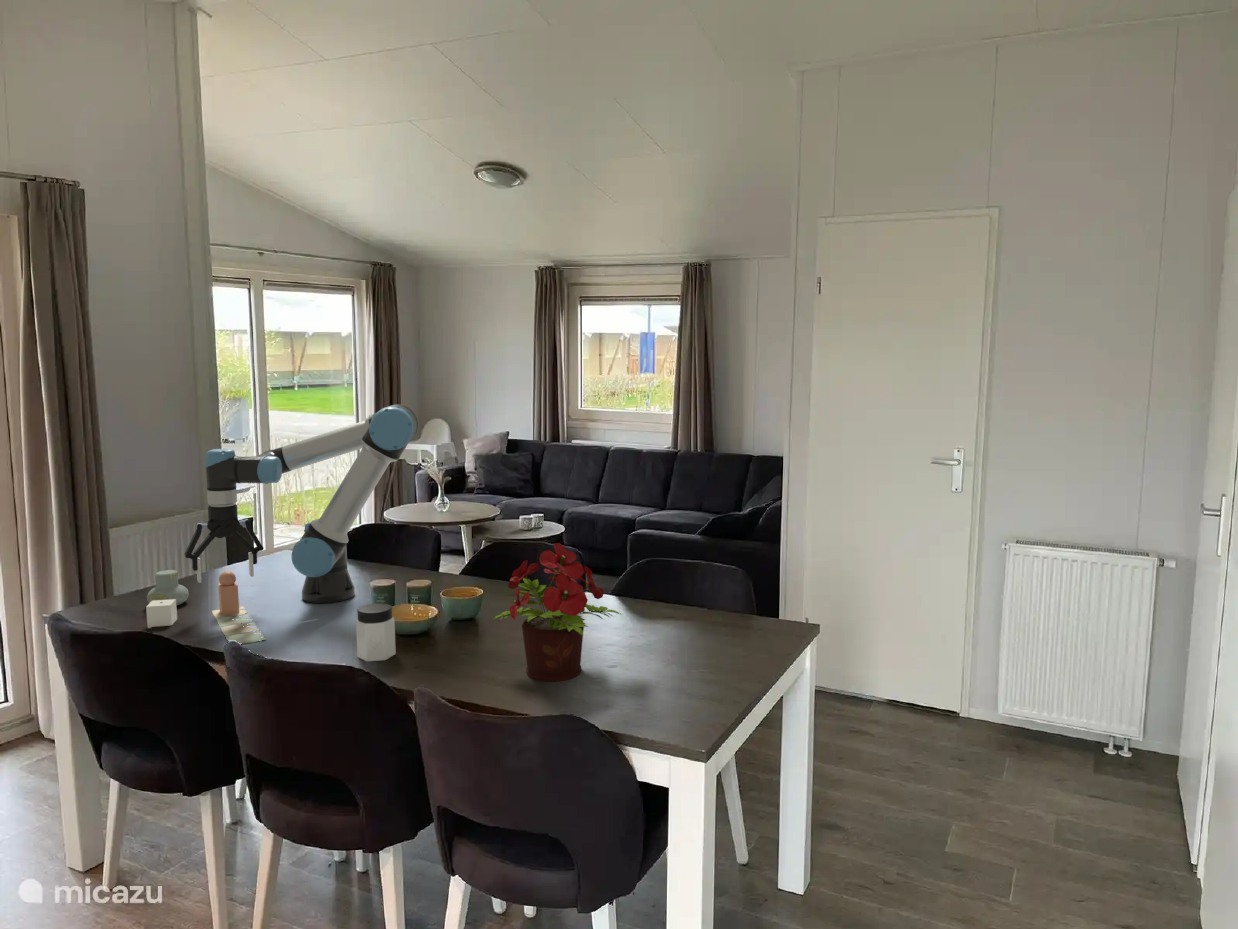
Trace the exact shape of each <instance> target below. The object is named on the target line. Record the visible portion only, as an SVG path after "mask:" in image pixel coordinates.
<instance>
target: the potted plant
mask: <svg viewBox="0 0 1238 929" xmlns="http://www.w3.org/2000/svg"><path fill="white" fill-rule="evenodd" d="M553 548H554V551H555V553H554V552H553V551H551V550H544V551H542V552H541V553H540V556H539V563H540V564H541V565H542V566H544V567H545V568H544V569H543V572H544V573H546V574H552V575H553V576H552V575H549V576H548V580H550V584H549V585H548V587H546V586H547V584H540V583H539V579H534V580H532V581H531V580H530V578H528V575H532V574H534V573H535V572H537V571H539V570H540V565H539V563H537V562H533V563H530V564H529V565H528V559H525V560H524V561H522V563H521V564H520V565H519V566H518V568H516V569H514V570H513V572H512V574H511V576H512V577H510V579H509V581H508V584H507V585H508V586H507V587H508V588H509V589H512V590H515V593H514V594H515V595H514V597H516V599H514V600H513V604H512V605H510V606H509V610H506V611H503V612H501V613H500V614H498V615H495V616H494V617H492V618H491V620H495V619H497V618H499V617H501V618H500V620H502V619H503V618H504V619H506V618H509V616H510V617H511V618H512V619H513V620H516V618H517V617H518V616H521V617H523V616H524V617H525V616H528V617H527V618H526V619H525V620H524V621H523V623H522V625H521V630H522V637H523V645H524V652H525V662H526V668H525V670H526V671H525V673H526V675H527V677H530V679H534V680H536V681H542V682H561V681H562V682H563V681H567V680H571V679H573V678H576V677H578V676H579V675H580V674H581V672H582V665H581V662H582V661H581V660H582V651H583V650H582V649H583V638H584V628H585V627H587V628H588V627H589V625H587V624H586V623H585V622H584V621H586V619H585V618H583V617H582V616H580V614H584V615H585V614H588V615H593V616H596V617H598V618H599V619H602V620H605V619H604V618H603V617H602V616H600V615H599V614H601V615H604V616H606V617H607V618H610V616H612V617H613V618H614V617H615V616H613V614H611V613H615V614H617V615H621V616H622V613H620V612H619V611H617V610H614V609H609V608H608V607H607V606H603V605H601V606H599V607H597V606H595V605H591V604H587V603H588V600H589V599H588V598H587V595H586V593H585V590H587V588H588V590H589V592H590V593H591V594H592V596H593V598H594V599H597V600H599V599H602V598H603V597H604V593H605V592H604V589H603V588H601V587H597V586H596V584H595V583H596V581H595V580H594V579H593V571H592V570H591V569H590V567H588V566H586V565H584V567H583V565H582V564H581V562H580V561H576V560H577V554H576V553H575V552H574V551H571V550H567V549H566V547H564V545H563V544H562V543H560V542H554V544H553ZM556 568H557V569H556ZM584 573H585V574H586V578H587V580H588V581H586V580H585V579H584V577H582V576H583V575H584ZM576 580H578V581H583V582H585V584H586V586H585V588H584V587H583V585H581V584H579V583H578V581H576ZM522 581H523V582H524V583H523V582H522ZM521 582H522V583H521ZM553 582H555V584H554V585H553V586H552V584H553ZM539 584H540V585H539ZM518 587H520V588H518ZM535 594H536V595H535ZM520 597H522V598H521V601H520ZM530 598H533V599H537V600H538V602H537V601H535V600H532V599H530ZM538 603H539V604H538ZM526 605H534V606H540V608H541V610H540V609H536V608H535V609H533V608H531V607H530V606H526ZM541 605H542V606H541ZM542 607H543V608H542ZM523 608H525V609H523ZM545 608H546V611H545ZM585 609H587V611H586V610H585ZM595 613H598V614H595Z"/></svg>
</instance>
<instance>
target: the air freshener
mask: <svg viewBox="0 0 1238 929" xmlns="http://www.w3.org/2000/svg"><path fill="white" fill-rule="evenodd" d="M178 573H179V572H178V571H177V570H175V569H168V570H167V569H166V570H160V571H157V572H156V573H155V575H154V576H155V578H154V579H155V587H153V588H152V589H150V590H149V591H148V593H147V595H146V599H147V602H148V604H149V603H150V602H151V601H155V600H170V599H176V607H177V606H180V605H181V604H183V603H185V602H186V601H187V599H189V595H190V593H189V590H188V588H187V587H185V586H184V585H183V584H179V574H178Z"/></svg>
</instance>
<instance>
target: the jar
mask: <svg viewBox="0 0 1238 929" xmlns="http://www.w3.org/2000/svg"><path fill="white" fill-rule="evenodd" d="M356 611H357V619H356V620H355V630H356V650H357V652H356V653H357V654H356V655H357V658H359V659H361V660H362V661H364V662H368V663H369V662H380V661H381V662H382V661H386V660H388V659H390V658H391V657H394V655H396V653H397V652H396V631H395V630H396V627H395V617H394V616H393V607H392V605H390V604H387V603H369V604H365V605H361V606H360V607H358V608H357V610H356Z"/></svg>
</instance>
